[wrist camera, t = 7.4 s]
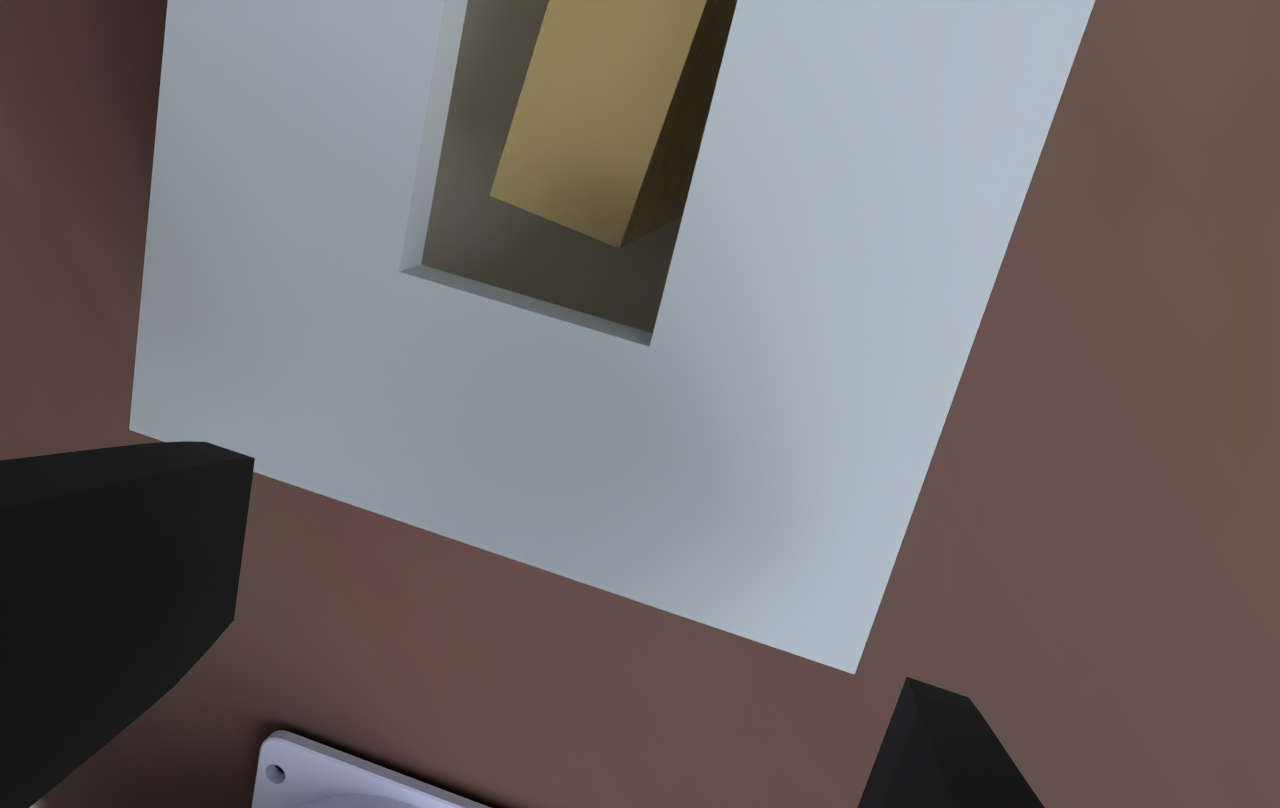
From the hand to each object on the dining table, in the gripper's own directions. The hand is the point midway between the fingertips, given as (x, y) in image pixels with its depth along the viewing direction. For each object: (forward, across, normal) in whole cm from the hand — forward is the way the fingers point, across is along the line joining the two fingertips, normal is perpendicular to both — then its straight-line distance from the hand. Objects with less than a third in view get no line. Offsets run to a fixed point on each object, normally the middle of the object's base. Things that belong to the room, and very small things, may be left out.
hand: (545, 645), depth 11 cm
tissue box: (+10, +2, -6) cm, 12 cm away
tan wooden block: (+10, +2, -6) cm, 12 cm away
